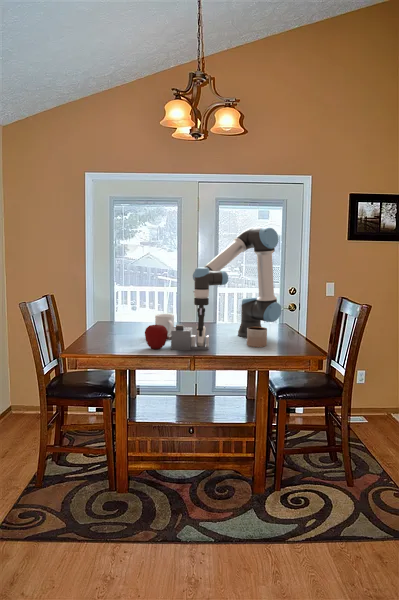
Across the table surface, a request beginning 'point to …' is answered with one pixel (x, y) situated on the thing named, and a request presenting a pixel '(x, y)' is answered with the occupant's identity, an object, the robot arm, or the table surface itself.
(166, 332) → the apple
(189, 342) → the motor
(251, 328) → the planter
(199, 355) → the table surface
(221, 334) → the table surface
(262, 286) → the robot arm
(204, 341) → the white bottle
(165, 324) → the mug
